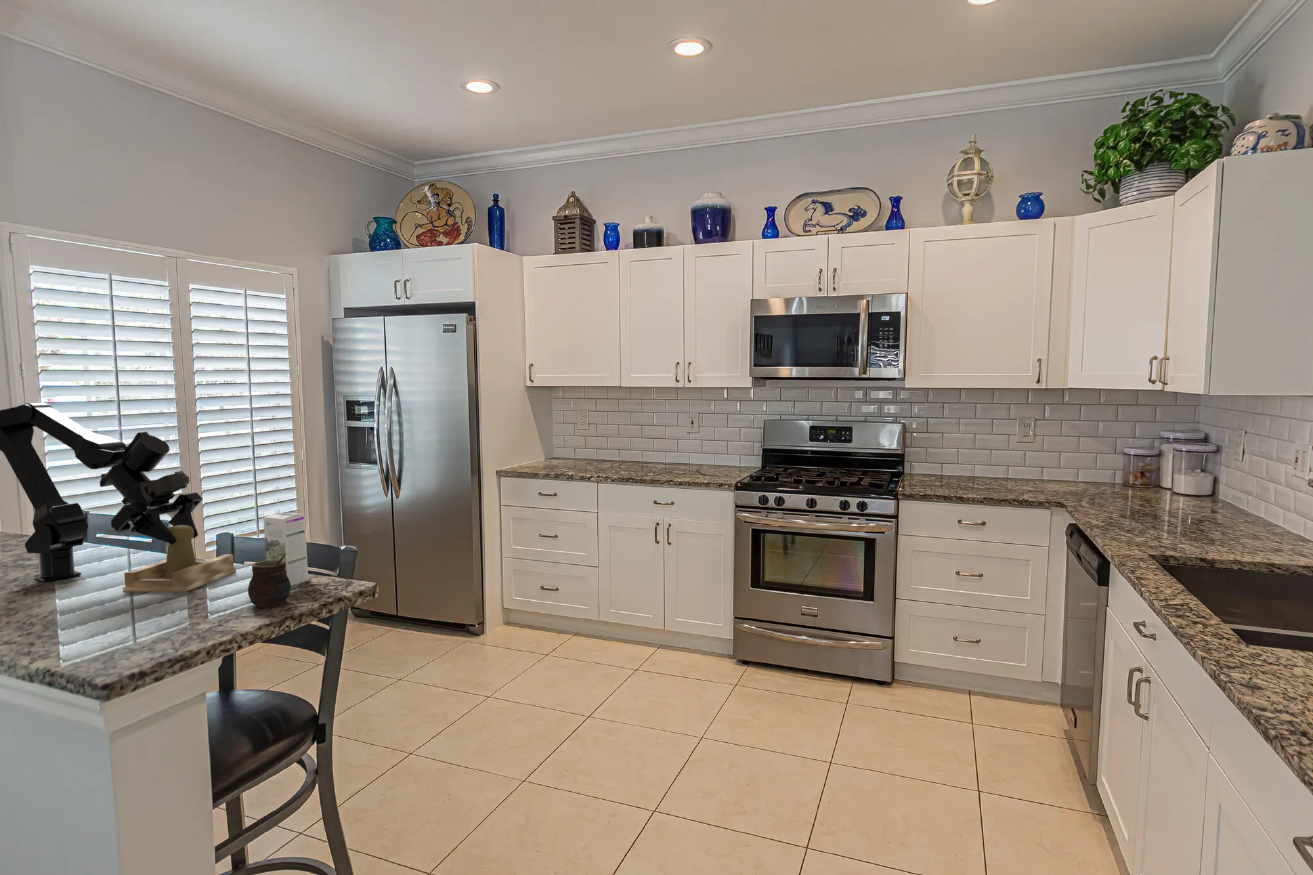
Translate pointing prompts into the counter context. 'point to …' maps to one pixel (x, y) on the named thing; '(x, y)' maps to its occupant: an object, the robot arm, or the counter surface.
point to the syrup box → (287, 543)
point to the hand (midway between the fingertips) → (185, 539)
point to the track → (178, 575)
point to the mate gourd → (269, 583)
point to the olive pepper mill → (180, 550)
